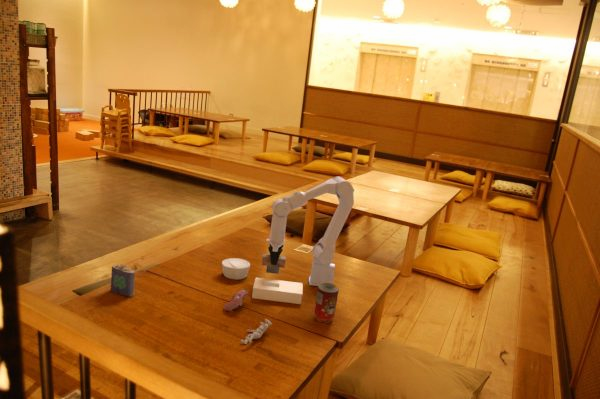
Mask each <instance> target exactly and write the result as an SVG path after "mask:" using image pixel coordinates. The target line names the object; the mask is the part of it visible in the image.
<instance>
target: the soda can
mask: <svg viewBox="0 0 600 399" xmlns="http://www.w3.org/2000/svg"><path fill="white" fill-rule="evenodd" d="M339 290H340V289H339V287H338V286H336V285H335V284H330V283H323V284H320V285H319V286H317V291H316V292H317V293H316V298H315V306H314V316H315V320H316V321H318V322H321V323H325V324H327V323H330V322H332V321H333V319H334V317H335V315H336V308H337V302H338V296H339Z"/></svg>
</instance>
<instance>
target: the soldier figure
mask: <svg viewBox="0 0 600 399" xmlns="http://www.w3.org/2000/svg"><path fill="white" fill-rule="evenodd" d="M259 323H260V325H259V326H258V328H256V330H255V329H253V330H252V329H246V332H248V333H250V332H251V333H250V334H247V336H245V340H243V339H240V341H241V343H242V344H244V345H245V344H246V345H248V342H249V343H252V341H253V339H254V340H257V339H258V340H259V339H261V337H262V336H263V334H264V332H266V331H267V329H268V328H269V327H270V326H271V325H273V323H272V322H271V321H270V320H269V319H267V318H264V322H262V321H259ZM252 332H253V333H252Z"/></svg>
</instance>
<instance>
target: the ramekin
mask: <svg viewBox="0 0 600 399" xmlns="http://www.w3.org/2000/svg"><path fill="white" fill-rule="evenodd" d="M221 266H222V274H223V275H224V277H225V278H227V279H230V280H236V281H239V280H242V279H243V280H244V279H245V278H246V277H247V276H248V273H249V270H250V268H251V263H250V262H249V261H248V260H246V259H243V258H237V257H236V258H235V257H233V258H230V257H229V258H226V259H224V260H222V262H221Z"/></svg>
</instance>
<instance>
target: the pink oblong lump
mask: <svg viewBox="0 0 600 399" xmlns="http://www.w3.org/2000/svg"><path fill="white" fill-rule="evenodd" d="M248 294H249V292H248V291H247V290H245V289H240V290H239V291H236V293H234V294H233V295H232V296H231V300H230V301H229V302H227V303H225V304H224V305H223V309H224V311H227V312H228V311H229V312H230V311H232V310H237V308H238V307H242V305H243V301H244V299H245V298H246V297H247V295H248Z"/></svg>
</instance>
